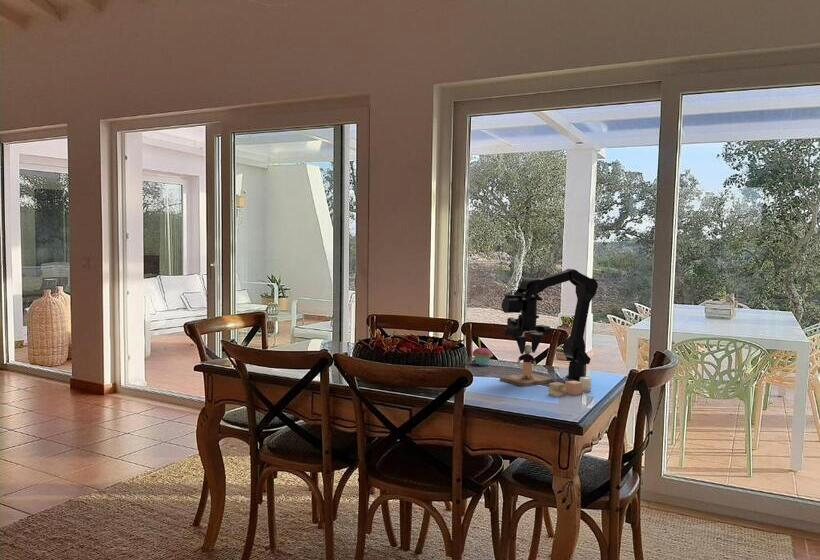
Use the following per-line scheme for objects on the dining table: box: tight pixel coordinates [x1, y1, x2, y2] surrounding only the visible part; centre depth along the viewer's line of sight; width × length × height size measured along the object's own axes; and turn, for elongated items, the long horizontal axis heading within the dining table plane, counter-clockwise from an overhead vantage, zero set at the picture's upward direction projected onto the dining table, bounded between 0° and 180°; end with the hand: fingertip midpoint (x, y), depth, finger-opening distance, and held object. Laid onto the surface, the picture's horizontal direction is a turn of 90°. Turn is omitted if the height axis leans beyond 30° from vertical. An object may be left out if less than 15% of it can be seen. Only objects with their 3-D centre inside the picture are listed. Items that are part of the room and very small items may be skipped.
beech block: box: [548, 381, 566, 398], centre depth 228 cm, size 4×4×4 cm
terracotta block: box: [565, 380, 583, 396], centre depth 231 cm, size 4×4×4 cm
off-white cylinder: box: [579, 376, 592, 393], centre depth 235 cm, size 4×4×4 cm
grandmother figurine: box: [517, 344, 537, 379], centre depth 248 cm, size 8×4×13 cm, turn 65°
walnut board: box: [499, 372, 554, 388], centre depth 248 cm, size 16×12×1 cm
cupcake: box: [472, 335, 494, 366], centre depth 278 cm, size 9×8×12 cm
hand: (527, 353), depth 247 cm, fingers open, 5 cm apart
